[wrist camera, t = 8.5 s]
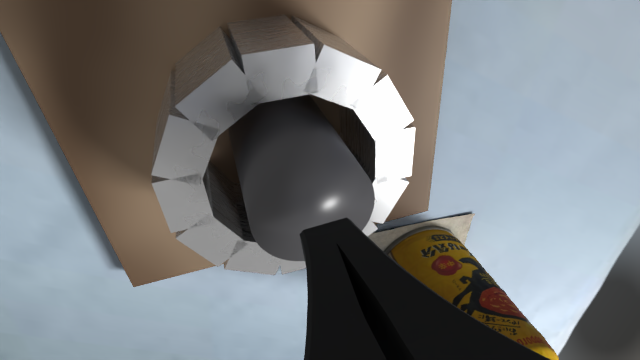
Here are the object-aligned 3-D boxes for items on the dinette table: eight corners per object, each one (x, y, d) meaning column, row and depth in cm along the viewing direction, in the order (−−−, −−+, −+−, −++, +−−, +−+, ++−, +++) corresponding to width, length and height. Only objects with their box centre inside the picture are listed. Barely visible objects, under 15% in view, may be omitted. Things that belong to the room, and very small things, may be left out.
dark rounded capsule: (258, 65, 15) (294, 135, 11) (338, 109, 17) (398, 184, 13) (211, 148, 17) (225, 243, 12) (290, 180, 19) (329, 272, 14)
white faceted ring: (372, 2, 15) (422, 26, 12) (371, 189, 20) (406, 240, 17) (125, 37, 13) (109, 76, 10) (193, 232, 19) (196, 297, 16)
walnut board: (446, -85, 15) (461, -84, 14) (419, 200, 23) (427, 210, 23) (-20, -38, 12) (-34, -34, 11) (135, 272, 20) (133, 287, 19)
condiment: (473, 211, 25) (650, 391, 16) (446, 298, 30) (570, 477, 21) (367, 230, 24) (495, 447, 14) (357, 320, 28) (447, 528, 19)
